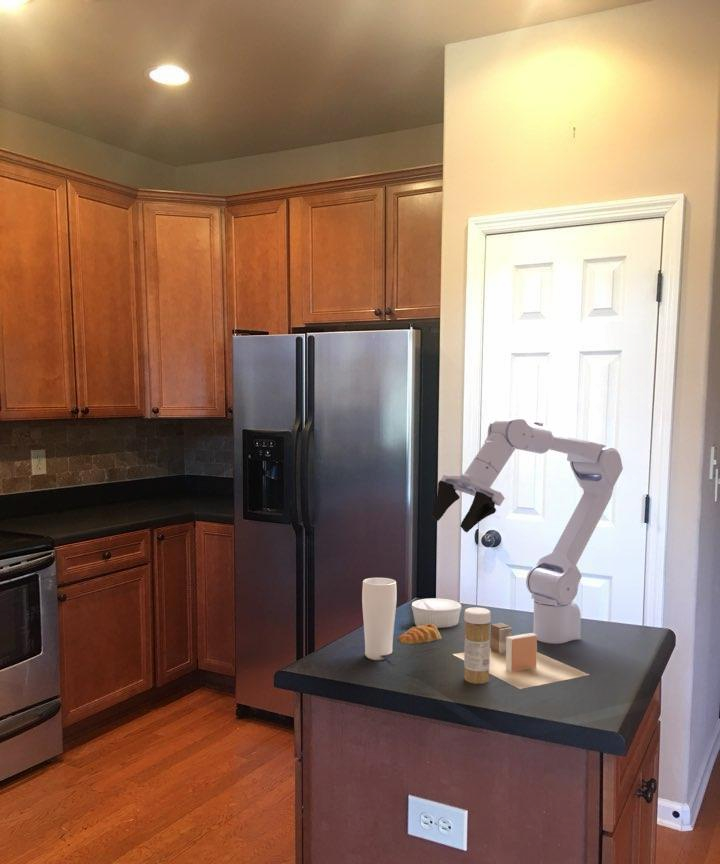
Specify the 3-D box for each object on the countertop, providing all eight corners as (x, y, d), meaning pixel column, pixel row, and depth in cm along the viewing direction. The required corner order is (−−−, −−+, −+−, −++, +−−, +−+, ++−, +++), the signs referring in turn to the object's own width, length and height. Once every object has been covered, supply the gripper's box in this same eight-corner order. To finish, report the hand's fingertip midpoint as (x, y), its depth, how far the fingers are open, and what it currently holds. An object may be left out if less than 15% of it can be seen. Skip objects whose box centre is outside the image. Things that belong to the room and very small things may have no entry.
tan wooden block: (501, 647, 142) (501, 622, 142) (511, 652, 140) (511, 627, 140) (490, 649, 141) (491, 624, 141) (500, 654, 138) (501, 628, 138)
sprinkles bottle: (477, 679, 128) (478, 605, 128) (495, 687, 124) (496, 611, 124) (458, 684, 125) (459, 608, 125) (475, 692, 121) (476, 614, 121)
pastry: (411, 653, 143) (411, 634, 143) (389, 645, 148) (389, 627, 148) (444, 644, 149) (444, 626, 149) (421, 637, 154) (422, 619, 154)
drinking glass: (402, 656, 140) (403, 581, 140) (380, 665, 135) (381, 586, 135) (377, 649, 144) (378, 575, 144) (354, 656, 139) (355, 580, 139)
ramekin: (401, 626, 162) (401, 603, 161) (433, 617, 169) (434, 595, 169) (438, 637, 153) (438, 613, 153) (471, 627, 161) (471, 604, 161)
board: (517, 649, 145) (517, 643, 145) (589, 681, 127) (589, 674, 127) (452, 660, 138) (452, 654, 138) (519, 696, 120) (519, 689, 120)
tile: (531, 664, 132) (531, 632, 132) (537, 667, 131) (537, 635, 131) (505, 669, 130) (506, 636, 130) (511, 672, 128) (511, 639, 128)
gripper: (449, 448, 143) (412, 501, 139) (506, 464, 133) (468, 523, 129) (464, 468, 148) (428, 521, 143) (520, 486, 137) (484, 543, 133)
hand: (448, 523), depth 136 cm, fingers open, 7 cm apart
